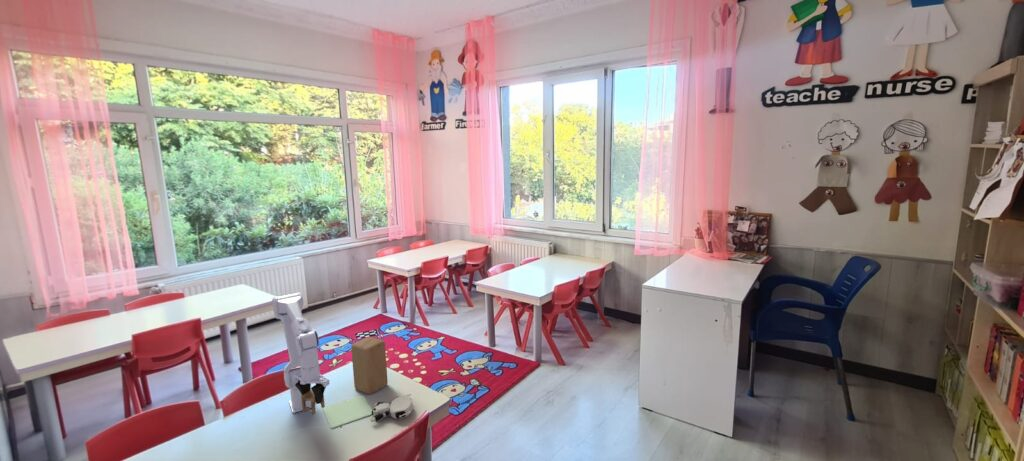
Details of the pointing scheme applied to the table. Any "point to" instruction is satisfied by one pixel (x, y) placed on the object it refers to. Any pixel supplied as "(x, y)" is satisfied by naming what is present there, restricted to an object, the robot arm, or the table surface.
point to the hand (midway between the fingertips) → (313, 400)
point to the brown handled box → (310, 397)
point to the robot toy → (393, 408)
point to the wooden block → (369, 365)
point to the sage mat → (347, 411)
